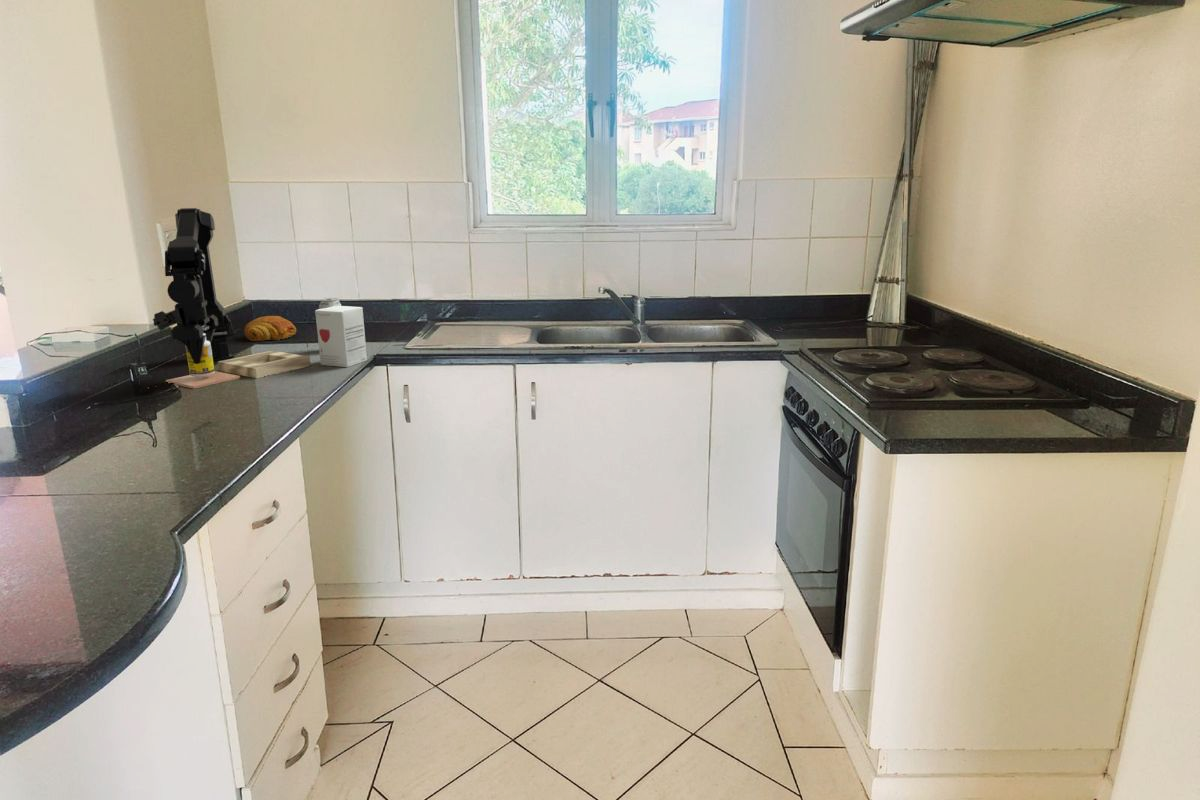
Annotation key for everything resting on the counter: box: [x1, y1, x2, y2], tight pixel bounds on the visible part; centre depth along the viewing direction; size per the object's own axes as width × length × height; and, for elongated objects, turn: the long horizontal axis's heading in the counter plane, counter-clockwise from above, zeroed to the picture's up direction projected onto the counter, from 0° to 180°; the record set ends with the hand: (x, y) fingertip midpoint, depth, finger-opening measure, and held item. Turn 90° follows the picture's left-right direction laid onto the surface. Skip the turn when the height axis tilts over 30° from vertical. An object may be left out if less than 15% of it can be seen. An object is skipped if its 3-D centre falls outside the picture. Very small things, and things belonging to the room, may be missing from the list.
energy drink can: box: [318, 297, 342, 309], centre depth 222 cm, size 6×6×15 cm
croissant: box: [243, 315, 297, 342], centre depth 244 cm, size 14×16×8 cm
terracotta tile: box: [165, 370, 241, 389], centre depth 190 cm, size 12×12×1 cm
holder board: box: [217, 350, 311, 379], centre depth 202 cm, size 16×16×2 cm
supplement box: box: [314, 305, 368, 368], centre depth 206 cm, size 9×9×15 cm
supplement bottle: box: [184, 333, 215, 377], centre depth 189 cm, size 6×6×10 cm
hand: (200, 360), depth 189 cm, fingers closed on supplement bottle, 5 cm apart
